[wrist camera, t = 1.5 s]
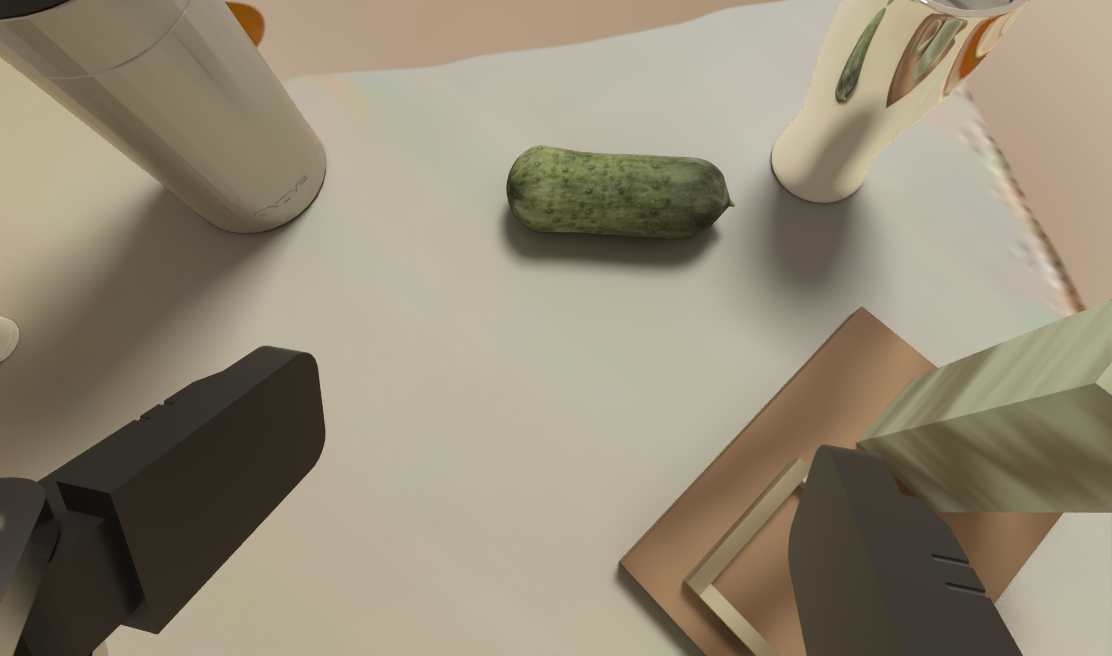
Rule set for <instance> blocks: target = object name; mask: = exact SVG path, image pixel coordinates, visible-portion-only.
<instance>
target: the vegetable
mask: <svg viewBox="0 0 1112 656" xmlns="http://www.w3.org/2000/svg"><path fill="white" fill-rule="evenodd" d="M506 190H507V197H508V201H509V204H510V206H511V209H512V211H513V212H514V214H515V216H516V217H517V218H518V219H519V220H520V221H521V223H522V224H524V225H525V226H527V227H528V228H529V229H532V230H534V231H537V232H580V233H593V234H606V235H619V236H632V237H644V238H659V239H675V238H688V237H692V236H695V235H698V234H700V233H701V232H703V231H704V230H706V229H707V228H708V227H710V226H711V225H712V224H713V223H714V222H715V221H716V220H717V219H718V218H719V217H720V216H721V215H722V213H723V212H724V211H725V210H726V209H727V208H728V207H729V206H731V207H734V206H735V203H734V202H733V201H731V200H730V197H729V193H728V190H727V186H726V183H725V179H724V176H723V174H722V173H721V171H720V170H719V169H718V168H717V167H716V166H714V165H713V164H712V163H710V162H708V161H706V160H702V159H698V158H688V157H668V156H651V155H634V154H603V153H587V152H578V151H572V150H566V149H560V148H555V147H549V146H543V145H539V146H535V147H532V148H530V149H528V150H527V151H525V152H524V153H523V154H521V155H520V156H519V157H518V158H517V160H516V161H515V163H514V164H513V166H512V168H511V170H510V172H509V176H508V180H507V187H506Z"/></svg>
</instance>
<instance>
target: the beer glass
mask: <svg viewBox="0 0 1112 656" xmlns="http://www.w3.org/2000/svg"><path fill="white" fill-rule="evenodd" d="M1028 1H1029V0H842V1H841V3H840V5H839V7H838V9H837V11H836V13H835V15H834V17H833V19H832V21H831V23H830V25H829V28H828V30H827V32H826V34H825V37H824V40H823V43H822V45H821V48H820V51H819V54H818V57H817V60H816V64H815V67H814V70H813V74H812V77H811V81H810V84H809V88H808V91H807V95H806V98H805V101H804V104H803V106H802V108H801V111H800V112H799V114H798V116H797V117H796V118H795V119H794V121H793V122H792V123H791V124H790V125H789V126H788V127H787V128H786V129H785V130H784V131H783V133H782V134H781V135H780V136H779V138H778V139H777V141H776V143H775V145H774V147H773V151H772V167H773V170H774V173H775V175H776V177H777V179H778V180H779V182H780V183H781V184H782V185H783V186H784V187H785V188H786V189H787V190H788V191H789V192H791V193H792V194H794V195H795V196H797V197H799V198H802V199H804V200H807V201H811V202H817V203H830V202H836V201H839V200H842V199H844V198H846V197H848V196H850V195H851V194H853V193H854V192H855V191H856V190H857V189H858V188H859V187H860V186H861V184H862V183H863V181H864V179H865V178H866V176H867V174H868V172H869V170H870V168H871V165H872V163H873V162H874V160H875V158H876V157H877V156H878V154H879V153H880V152H881V151H882V150H883V149H884V148H885V147H886V146H888V145H889V144H890V143H891V142H892V141H894V140H895V139H896V138H898V137H899V136H900V135H902V134H903V133H904V132H905V131H907V130H908V129H909V128H911V127H912V126H913V125H915V124H916V123H917V122H919V121H920V120H921V119H922V118H924V117H925V116H926V115H928V114H929V113H930V112H931V111H932V110H934V109H935V108H936V107H937V106H938V105H939V104H940V103H942V102H943V101H944V100H945V99H946V98H947V97H949V96H950V95H951V94H952V93H953V92H954V91H955V90H956V89H957V88H958V87H959V86H960V85H961V84H962V82H963V81H964V80H965V79H966V78H967V77H968V76H969V75H970V74H971V73H972V72H973V71H974V70H975V69H976V67H977V66H978V65H979V64H980V63H981V61H982V60H983V59H984V58H985V57H986V55H987V54H988V53H989V52H990V51H991V49H992V48H993V47H994V46H995V44H996V43H997V42H998V40H999V39H1000V38H1001V37H1002V35H1003V34H1004V33H1005V31H1006V30H1007V29H1008V27H1009V26H1010V25H1011V23H1012V22H1013V21H1014V19H1015V18H1016V17H1017V15H1018V14H1019V13H1020V11H1021V10H1022V9H1023V7H1024V6H1025V5H1026V4H1027V2H1028Z"/></svg>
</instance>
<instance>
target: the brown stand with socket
mask: <svg viewBox="0 0 1112 656" xmlns="http://www.w3.org/2000/svg"><path fill="white" fill-rule="evenodd" d="M823 444H825V445H831V446H837V447H843V448H848V449H854V450H860V451H866V452H871V453H877V454H880V455H881V456H882V457H883V458H884V460H885V462H886V464H887V466H888V468H889V470H890V472H891V474H892V476H893V478H894V480H895V482H896V484H897V486H898V488H899V490H900V492H901V494H903V495H908V496H914V497H919V498H920V499H921V500H922V501H923V502H924V503H925V504H926V505H927V506H928V507H929V508H930V509H931V510H932V511H933V512H934V513H935V514H936V515H937V516H938V517H940V518H941V519H942V520H943V521H944V522H945V523H946V524H947V525H948V526H949V527H950V528H951V530H952V531H953V533H954V535H955V537H956V539H957V540H958V542H959V544H960V546H961V547H962V549H963V551H964V553H965V554H966V556H967V558H968V560H969V567H970V568H973V569H974V570H975V572H976V574H977V576H978V577H979V579H980V581H981V583H982V584H983V586H984V588H985V590H986V591H985V596H986V597H988V598H990V599H991V600H992V602H993V604H994V603H995V602H996V601H997V599H998V598H999V597H1000V595H1001V594H1002V593H1003V591H1004V590H1005V589H1006V588H1007V586H1008V585H1009V584H1010V582H1011V581H1012V580H1013V578H1014V577H1015V576H1016V574H1017V573H1018V572H1019V570H1020V569H1021V568H1022V566H1023V565H1024V564H1025V562H1026V561H1027V560H1028V559H1029V557H1030V556H1031V555H1032V553H1033V552H1034V551H1035V549H1036V548H1037V547H1038V545H1039V544H1040V543H1041V541H1042V540H1043V539H1044V537H1045V536H1046V535H1047V534H1048V532H1049V531H1050V530H1051V528H1052V527H1053V526H1054V524H1055V523H1056V522H1057V520H1058V519H1059V518H1060V516H1061V515H1062V514H1063V512H1088V513H1112V300H1110V301H1107V302H1105V303H1102V304H1099V305H1097V306H1095V307H1092V308H1089V309H1087V310H1084V311H1082V312H1079V313H1077V314H1074V315H1072V316H1069V317H1067V318H1064V319H1062V320H1059V321H1056V322H1054V323H1051V324H1049V325H1046V326H1044V327H1041V328H1039V329H1036V330H1034V331H1031V332H1029V333H1026V334H1024V335H1021V336H1019V337H1016V338H1013V339H1011V340H1008V341H1006V342H1003V343H1001V344H998V345H996V346H993V347H991V348H988V349H986V350H983V351H981V352H978V353H976V354H973V355H971V356H968V357H965V358H963V359H960V360H958V361H955V362H953V363H950V364H948V365H945V366H943V367H940V368H937V367H936V366H935V365H933V364H932V363H931V362H930V361H928V360H927V359H926V358H925V357H923V356H922V355H921V354H920V353H919V352H917V351H916V350H915V349H914V348H912V347H911V346H910V345H909V344H908V343H906V342H905V341H904V340H903V339H901V338H900V337H899V336H898V335H897V334H895V333H894V332H893V331H892V330H890V329H889V328H888V327H887V326H885V325H884V324H883V323H882V322H881V321H879V320H878V319H877V318H876V317H874V316H873V315H872V314H871V313H870V312H868V311H867V310H866V309H865V308H863V307H861V308H859V309H858V310H857V311H855V312H854V313H852V314H851V315H850V316H849V317H848V318H847V319H846V320H845V321H844V322H843V323H842V324H841V326H840V327H839V328H838V329H837V330H836V331H835V332H834V333H833V334H832V335H831V336H830V337H829V338H828V339H827V340H826V342H825V343H824V344H823V345H822V346H821V347H820V348H819V349H818V350H817V351H816V352H815V353H814V354H813V355H812V356H811V358H810V359H809V360H808V361H807V362H806V363H805V364H804V365H803V366H802V367H801V368H800V369H799V370H798V371H797V372H796V373H795V375H794V376H793V377H792V378H791V379H790V380H789V381H788V382H787V383H786V384H785V385H784V386H783V387H782V388H781V389H780V391H779V392H778V393H777V394H776V395H775V396H774V397H773V398H772V399H771V400H770V401H769V402H768V403H767V404H766V405H765V407H764V408H763V409H762V410H761V411H760V412H759V413H758V414H757V415H756V416H755V417H754V418H753V419H752V420H751V421H750V423H749V424H748V425H747V426H746V427H745V428H744V429H743V430H742V431H741V432H740V433H739V434H738V435H737V436H736V437H735V438H734V440H733V441H732V442H731V443H730V444H729V445H728V446H727V447H726V448H725V449H724V450H723V451H722V452H721V453H720V454H719V456H718V457H717V458H716V459H715V460H714V461H713V462H712V463H711V464H710V465H709V466H708V467H707V468H706V469H705V470H704V472H703V473H702V474H701V475H700V476H699V477H698V478H697V479H696V480H695V481H694V482H693V483H692V484H691V485H690V486H689V487H688V489H687V490H686V491H685V492H684V493H683V494H682V495H681V496H680V497H679V498H678V499H677V500H676V501H675V502H674V503H673V505H672V506H671V507H670V508H669V509H668V510H667V511H666V512H665V513H664V514H663V515H662V516H661V517H660V518H659V519H658V521H657V522H656V523H655V524H654V525H653V526H652V527H651V528H650V529H649V530H648V531H647V532H646V533H645V534H644V535H643V536H642V538H641V539H640V540H639V541H638V542H637V543H636V544H635V545H634V546H633V547H632V548H631V549H630V550H629V551H628V552H627V554H626V555H625V556H624V557H623V558H622V559H621V560H620V561H619V562H620V563H621V564H622V565H623V566H624V567H625V568H626V569H627V571H628V572H629V573H630V574H631V575H632V576H633V577H634V578H635V579H636V580H637V581H638V582H639V584H640V585H641V586H642V587H643V588H644V589H645V590H646V591H647V592H648V593H649V594H650V595H651V596H652V598H653V599H654V600H655V601H656V602H657V603H658V604H659V605H660V606H661V607H662V608H663V609H664V611H665V612H666V613H667V614H668V615H669V616H670V617H671V618H672V619H673V620H674V621H675V622H676V623H677V625H678V626H679V627H680V628H681V629H682V630H683V631H684V632H685V633H686V634H687V635H688V636H689V637H690V639H691V640H692V641H693V642H694V643H695V644H696V645H697V646H698V647H699V648H700V649H701V650H702V652H703V653H704V654H705V655H706V656H807V655H806V650H805V645H804V640H803V635H802V630H801V625H800V620H799V615H798V610H797V605H796V600H795V595H794V590H793V585H792V580H791V575H790V570H789V562H788V544H789V535H790V530H791V525H792V522H793V519H794V516H795V513H796V510H797V507H798V504H799V501H800V497H801V494H802V491H803V488H804V485H805V482H806V479H807V476H808V473H809V470H810V467H811V464H812V461H813V458H814V455H815V453H816V451H817V449H818V448H819V447H820V446H821V445H823Z"/></svg>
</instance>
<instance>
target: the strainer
mask: <svg viewBox="0 0 1112 656" xmlns="http://www.w3.org/2000/svg"><path fill="white" fill-rule="evenodd" d="M18 340H19V329H18V327H17V325H16V324H15V323H14V322H13V321H12V320H9V319H7V318H4V317H1V316H0V362H1V361H2V360H4V359H5V358H7V357H8V356H9V355H10V354H11V353H12V352H13V351H14V349H15V348H16V346H17V343H18Z"/></svg>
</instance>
